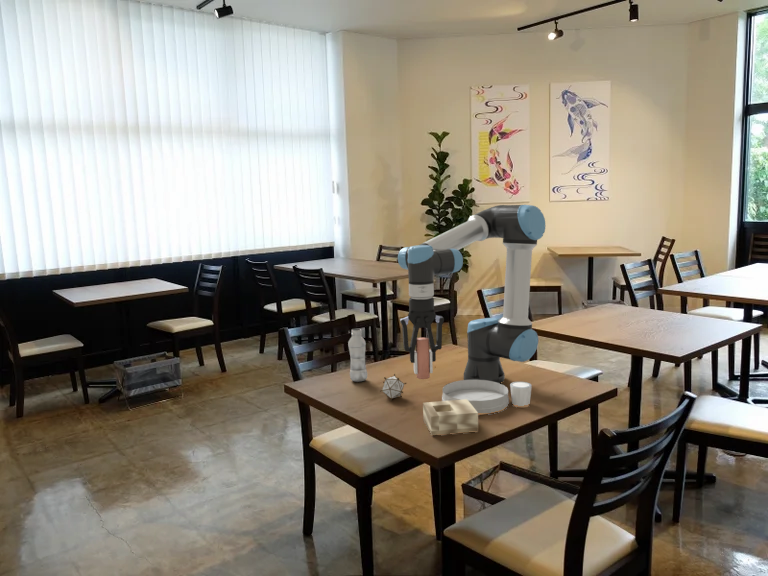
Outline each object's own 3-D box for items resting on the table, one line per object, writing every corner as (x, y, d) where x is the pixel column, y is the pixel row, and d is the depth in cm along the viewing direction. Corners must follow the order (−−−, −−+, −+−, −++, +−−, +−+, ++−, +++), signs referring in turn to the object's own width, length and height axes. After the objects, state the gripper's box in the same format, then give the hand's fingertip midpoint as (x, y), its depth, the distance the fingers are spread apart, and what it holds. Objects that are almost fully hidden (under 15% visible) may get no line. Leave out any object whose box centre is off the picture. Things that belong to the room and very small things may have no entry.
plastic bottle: (367, 383, 228) (365, 331, 225) (349, 384, 228) (346, 331, 225) (368, 378, 234) (366, 327, 231) (350, 378, 235) (348, 328, 231)
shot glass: (519, 410, 196) (519, 389, 195) (505, 403, 202) (505, 383, 201) (536, 405, 199) (536, 385, 198) (522, 399, 205) (522, 379, 204)
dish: (478, 388, 219) (478, 375, 218) (523, 405, 200) (523, 391, 199) (428, 402, 207) (428, 388, 206) (471, 421, 189) (471, 406, 188)
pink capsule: (428, 374, 189) (427, 337, 187) (430, 378, 185) (429, 340, 183) (415, 375, 189) (414, 337, 187) (417, 379, 185) (416, 341, 183)
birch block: (467, 417, 191) (467, 399, 190) (478, 432, 179) (477, 412, 178) (423, 421, 189) (422, 402, 188) (431, 436, 178) (431, 416, 177)
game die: (392, 406, 214) (396, 379, 218) (409, 403, 208) (412, 375, 212) (373, 399, 209) (377, 371, 213) (389, 395, 203) (393, 367, 207)
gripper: (394, 300, 179) (397, 377, 182) (451, 297, 180) (453, 374, 184) (391, 296, 186) (394, 370, 190) (446, 293, 188) (448, 367, 191)
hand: (423, 372), depth 187 cm, fingers closed on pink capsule, 4 cm apart
